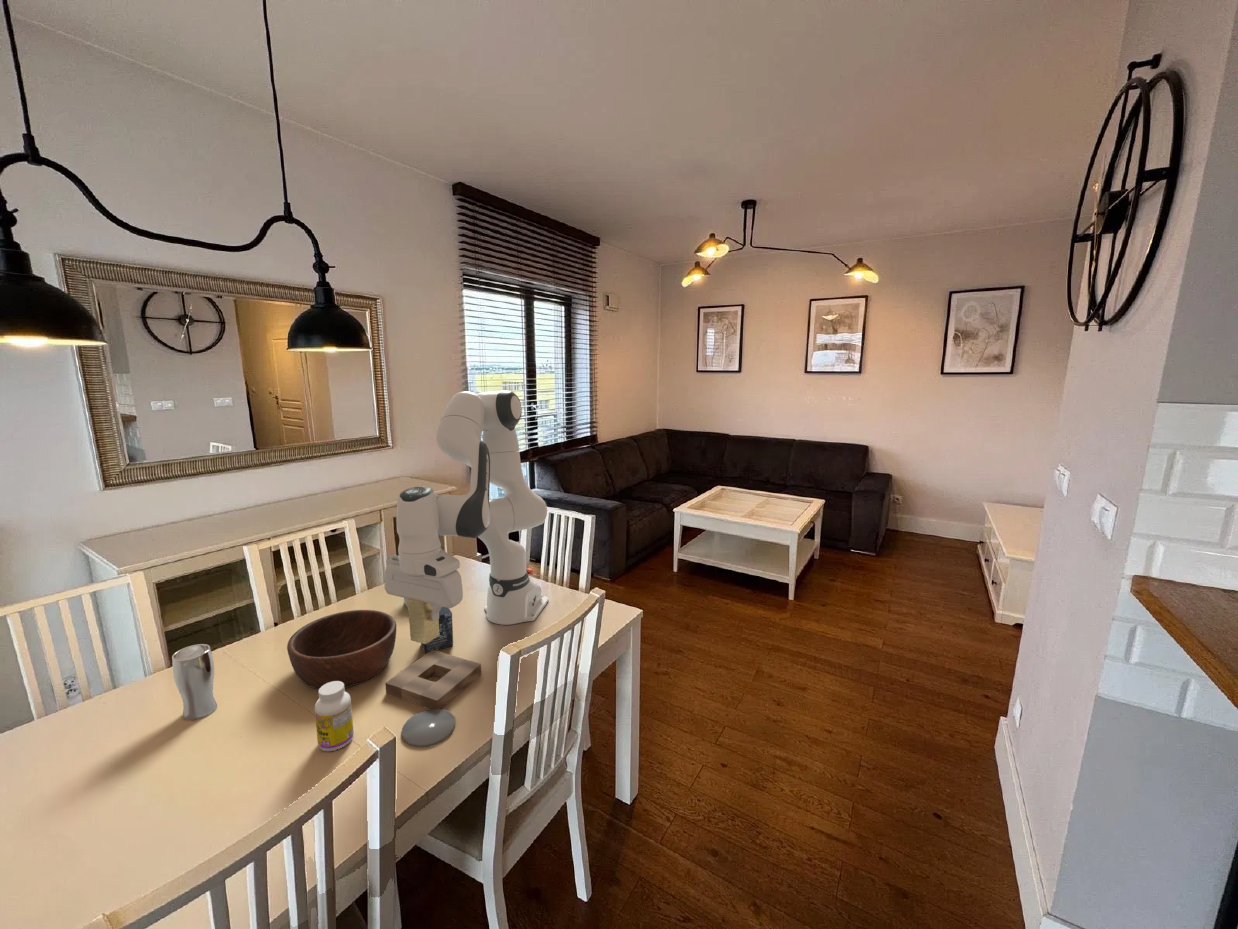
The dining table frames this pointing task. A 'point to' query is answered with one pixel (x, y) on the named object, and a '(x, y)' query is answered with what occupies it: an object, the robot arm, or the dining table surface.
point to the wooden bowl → (342, 647)
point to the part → (421, 622)
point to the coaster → (428, 727)
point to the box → (442, 632)
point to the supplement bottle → (333, 717)
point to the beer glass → (195, 680)
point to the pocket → (428, 693)
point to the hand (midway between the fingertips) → (424, 617)
